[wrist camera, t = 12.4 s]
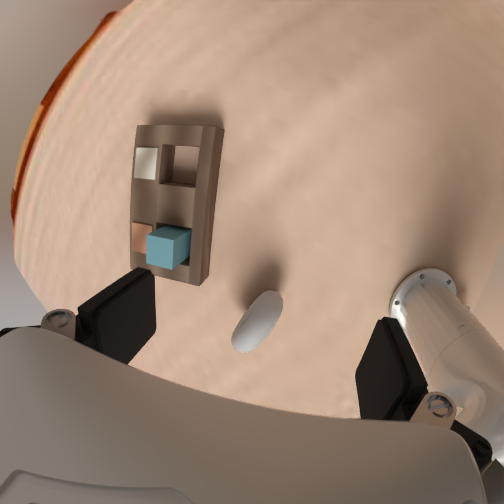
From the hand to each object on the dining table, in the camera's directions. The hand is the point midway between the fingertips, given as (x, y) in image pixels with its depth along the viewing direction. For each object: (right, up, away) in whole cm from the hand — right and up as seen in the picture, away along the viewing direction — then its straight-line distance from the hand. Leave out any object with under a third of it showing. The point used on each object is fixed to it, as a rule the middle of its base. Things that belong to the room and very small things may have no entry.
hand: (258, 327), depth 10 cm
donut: (+1, -5, +32) cm, 32 cm away
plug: (-11, +5, +31) cm, 33 cm away
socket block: (-11, +11, +29) cm, 33 cm away
